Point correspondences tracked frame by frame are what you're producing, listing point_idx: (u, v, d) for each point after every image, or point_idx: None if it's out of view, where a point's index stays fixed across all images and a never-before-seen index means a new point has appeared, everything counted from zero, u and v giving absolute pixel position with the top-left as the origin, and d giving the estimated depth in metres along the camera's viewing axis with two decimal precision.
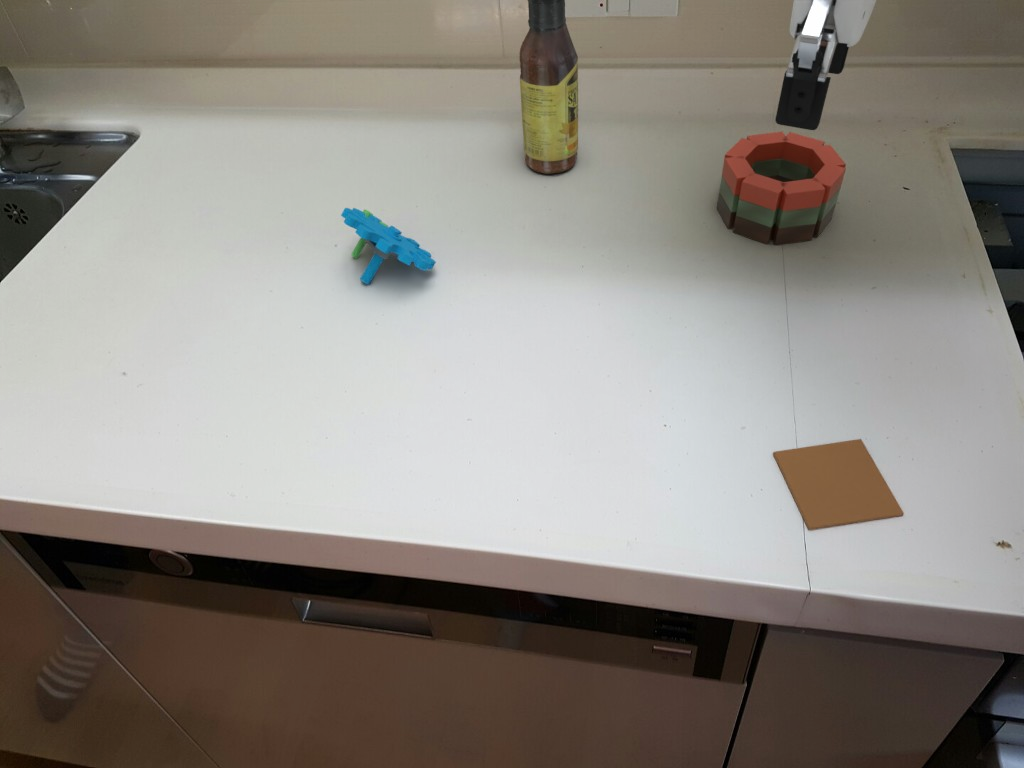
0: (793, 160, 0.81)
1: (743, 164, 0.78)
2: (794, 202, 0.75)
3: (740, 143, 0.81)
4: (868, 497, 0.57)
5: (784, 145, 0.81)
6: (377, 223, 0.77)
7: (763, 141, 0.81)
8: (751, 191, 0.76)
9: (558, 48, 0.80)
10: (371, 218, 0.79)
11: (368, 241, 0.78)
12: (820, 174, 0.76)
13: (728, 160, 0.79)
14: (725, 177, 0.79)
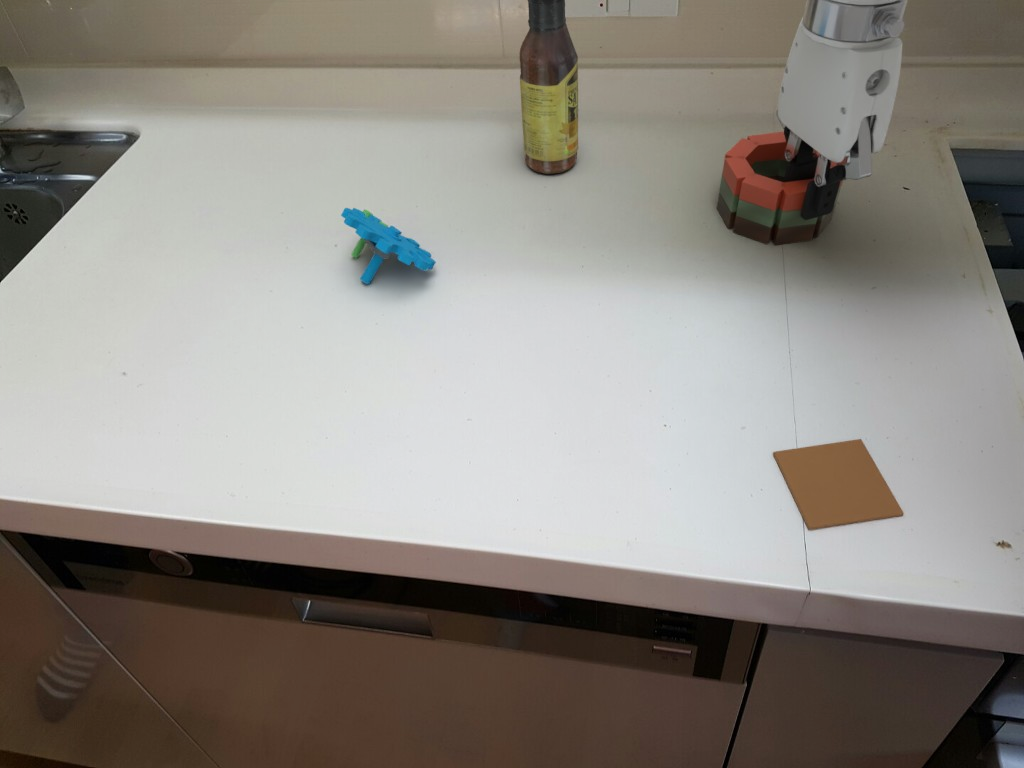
0: None
1: (743, 164, 0.78)
2: (794, 202, 0.75)
3: (740, 143, 0.81)
4: (868, 497, 0.57)
5: (785, 145, 0.81)
6: (377, 223, 0.77)
7: (764, 141, 0.81)
8: (751, 191, 0.76)
9: (558, 48, 0.80)
10: (371, 218, 0.79)
11: (368, 241, 0.78)
12: None
13: (729, 160, 0.79)
14: (725, 177, 0.79)
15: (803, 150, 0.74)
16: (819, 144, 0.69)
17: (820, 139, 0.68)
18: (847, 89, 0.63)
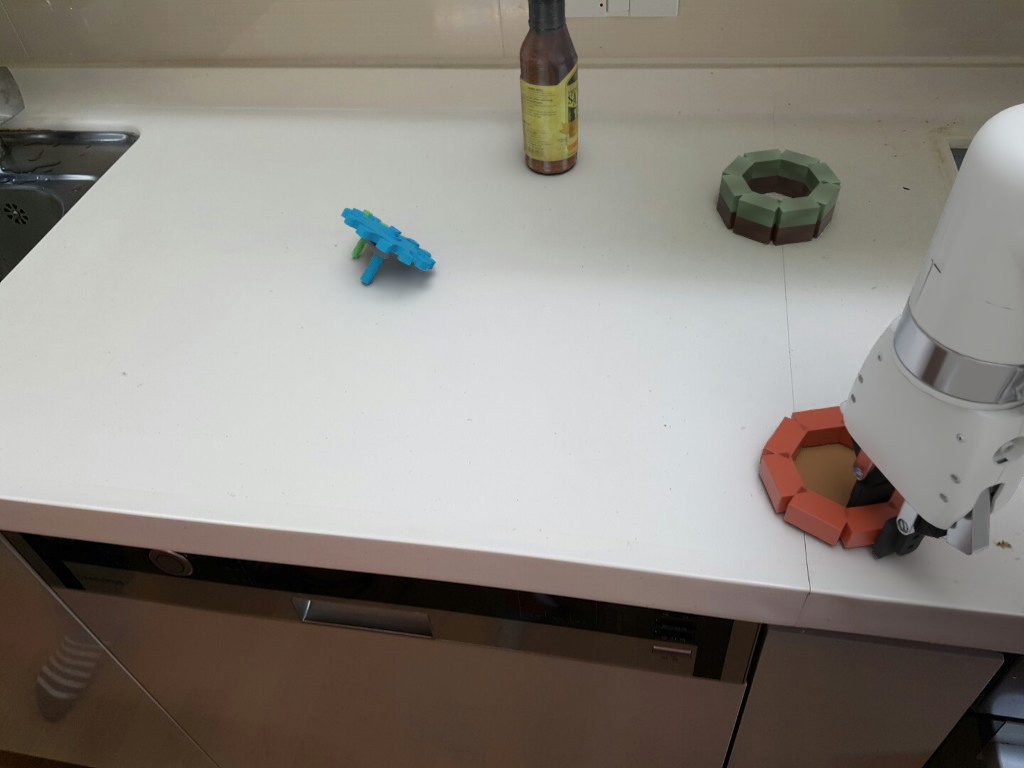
0: None
1: (789, 469, 0.57)
2: (862, 539, 0.54)
3: (783, 427, 0.59)
4: None
5: (843, 430, 0.59)
6: (377, 223, 0.77)
7: (815, 424, 0.59)
8: (801, 517, 0.55)
9: (558, 48, 0.80)
10: (371, 218, 0.79)
11: (368, 241, 0.78)
12: (898, 493, 0.55)
13: (769, 459, 0.57)
14: (763, 479, 0.58)
15: None
16: (911, 496, 0.47)
17: (912, 491, 0.47)
18: (963, 456, 0.42)
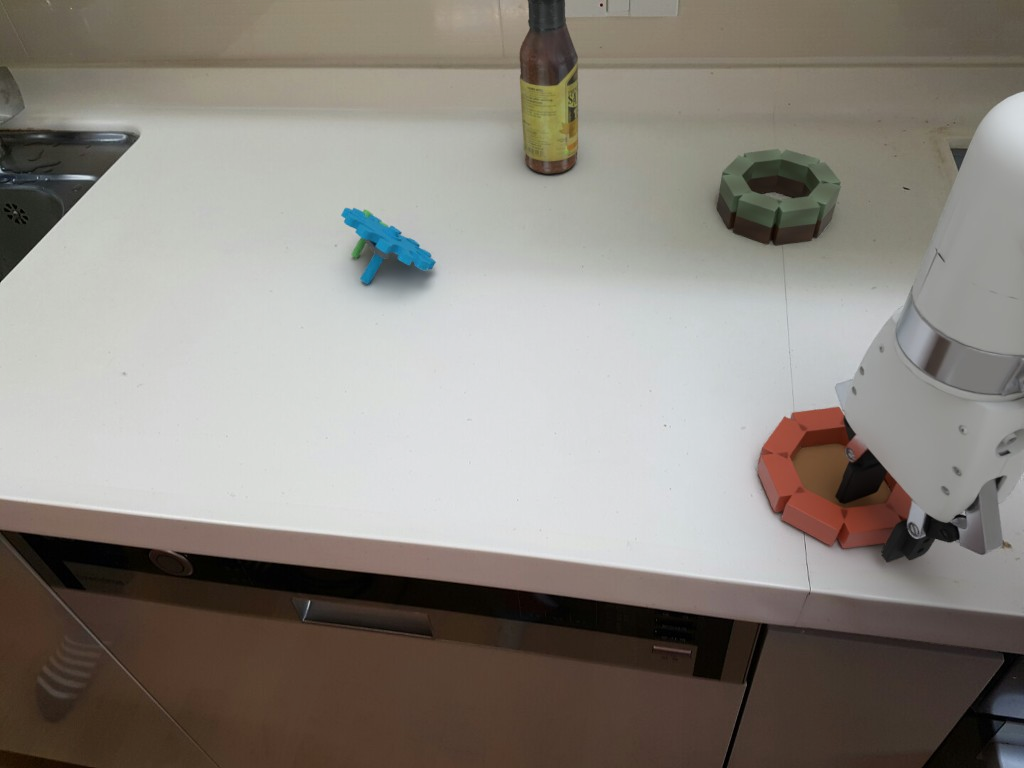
0: None
1: (787, 469, 0.57)
2: (859, 540, 0.54)
3: (783, 427, 0.60)
4: (868, 497, 0.57)
5: (842, 430, 0.60)
6: (377, 223, 0.77)
7: (814, 424, 0.60)
8: (799, 517, 0.55)
9: (558, 48, 0.80)
10: (371, 218, 0.79)
11: (368, 241, 0.78)
12: (895, 494, 0.55)
13: (767, 459, 0.58)
14: (762, 479, 0.58)
15: None
16: (912, 488, 0.47)
17: (914, 484, 0.47)
18: (965, 448, 0.42)
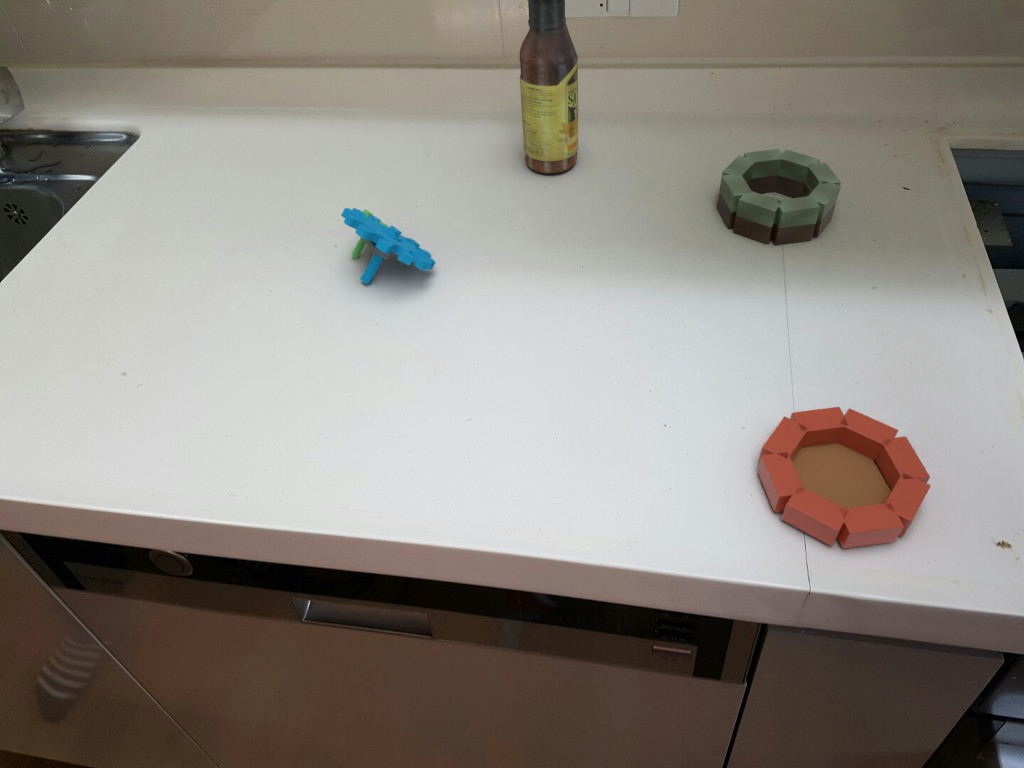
0: (854, 449, 0.60)
1: (787, 469, 0.57)
2: (859, 540, 0.54)
3: (783, 427, 0.60)
4: (868, 497, 0.57)
5: (842, 430, 0.60)
6: (377, 223, 0.77)
7: (814, 424, 0.60)
8: (799, 517, 0.55)
9: (558, 48, 0.80)
10: (371, 218, 0.79)
11: (368, 241, 0.78)
12: (895, 494, 0.55)
13: (767, 459, 0.58)
14: (762, 479, 0.58)
15: None
16: None
17: None
18: None
